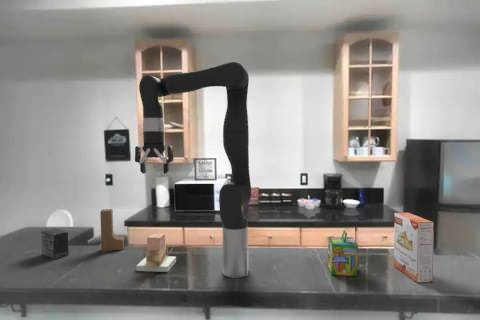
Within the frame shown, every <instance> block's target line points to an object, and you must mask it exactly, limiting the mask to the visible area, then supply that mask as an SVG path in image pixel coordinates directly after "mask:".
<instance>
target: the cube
mask: <svg viewBox="0 0 480 320" xmlns="http://www.w3.org/2000/svg"><path fill="white" fill-rule="evenodd" d="M165 236H166V235H165V233H151V234H150V235H148V236H147V237H146V243H147V244H146V246H147V248H146V250H147V251H148V250H149V251H161V250H162V249H163V248H164V247H165V244H166V237H165Z"/></svg>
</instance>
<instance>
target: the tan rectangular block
mask: <svg viewBox="0 0 480 320" xmlns="http://www.w3.org/2000/svg"><path fill="white" fill-rule="evenodd" d="M145 255H146V256H145V257H146V266H160V265H161V263H162V262H163V261H164V259H165V258H166V256H167V244H166V243H165V247H164V248H163V249H162V250H161V251H149V250H147V251H146V252H145Z"/></svg>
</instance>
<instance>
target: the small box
mask: <svg viewBox="0 0 480 320" xmlns="http://www.w3.org/2000/svg"><path fill="white" fill-rule="evenodd" d="M40 233H41V256H43V257H46V258H49V259H51V260H58V259H60V258H64V257H68V256H69V255H70V254H69V231H66V230H63V229H61V228H60V229H59V228H52V229H47V230H41V232H40Z"/></svg>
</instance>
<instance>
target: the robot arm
mask: <svg viewBox="0 0 480 320" xmlns="http://www.w3.org/2000/svg"><path fill="white" fill-rule="evenodd" d="M249 79H250V77H249V73H248V71H247V69H246V68H245V67H244V66H243V65H242V64H241V63H240V62H238V61H229V62H227V63H222V64H219V65H217V66H213V67H209V68H205V69H201V70H195V71H194V70H193V71H189V72H187V71H186V72H178V73H173V74H168V75H167V76H166V77H162V78H157V77H155V76H154V75H153V76H152V75H150V74H146V75H143V76H142V78H141V79H140V81H139V86H138V89H139V95H140V100H141V103H142V106H143V107H142V108H143V115H142V116H143V121H142V134H143V137H142V138H143V141H142V142H143V146H140V145H137V146H135V147H134V162H135V163H138V164H139V166H140V167H139V169H140V173H141V174H142V175H143V174H144V175H145V174H146V173H147V169H146V167H147V164H146V162H147V161H148V159H151V158H152V159H153V158H156V159H157V158H159V159H160V160H161V161H162V163H163V164H162V165H163V174H164V175H165V174H166V175H167V174H168V172H169V170H170V168H169V167H170V166H169V165H170V163H172V162H174V160H175V159H174V149H173V148H174V147H173V146H172V145H168V146H166V145H165V126H164V125H165V124H164V111H163V110H164V109H163V105H162V104H161V102H159V98H163V97H167V96H170V95H175V94H183V93H189V92H195V91H197V90H200V89H204V88H209V87H211V88H212V87H223V88H225V89H226V99H227V104H226V105H227V106H226V111H225V115H224V120H223V125H222V127H223V128H222V142H223V143H222V144H223V149H224V152H225V154H226V157H227V159H228V162H229V164H230V168H231V169H230V170H231V182H227V183H225V184H223V185H222V186H221V187H220V190H219V196H218V202H219V203H218V205H219V206H218V207H219V217H220V220H221V224H222V225H221V226H222V227H221V228H222V232H221V234H222V274H223V275H224V276H225V277H227V278H232V279H238V278H244V277H248V275H249V269H250V268H249V267H250V266H249V263H250V262H249V239H248V238H249V233H248V232H249V223H248V222H249V221H248V218H247V217H246V216H243V212H242V211H243V210H242V209H243V208H242V207H243V206H246V205H247V204H248V203H249V202H250V201H251V198H252V185H251V178H250V177H251V176H250V175H251V174H250V166H249V165H250V160H249V158H250V157H249V155H250V154H249V144H250V143H249V139H250V138H249V136H250V135H249V131H250V130H249V117H248V116H249V115H248V91H249V89H248V88H249V83H250V81H249ZM142 152H144V153H143V155H142ZM164 152H167V156H166V154H165V153H164ZM141 155H142V156H141Z"/></svg>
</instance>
